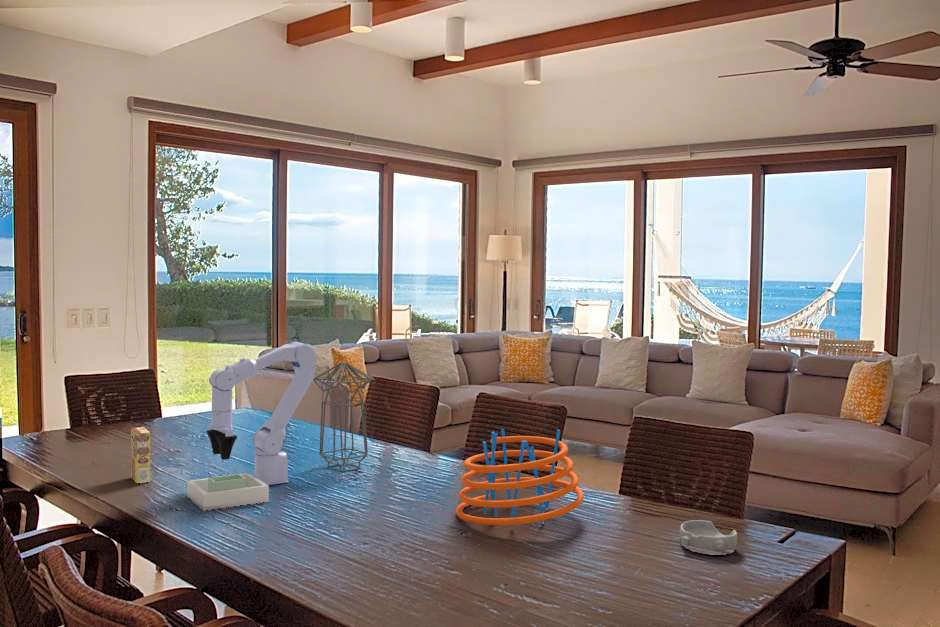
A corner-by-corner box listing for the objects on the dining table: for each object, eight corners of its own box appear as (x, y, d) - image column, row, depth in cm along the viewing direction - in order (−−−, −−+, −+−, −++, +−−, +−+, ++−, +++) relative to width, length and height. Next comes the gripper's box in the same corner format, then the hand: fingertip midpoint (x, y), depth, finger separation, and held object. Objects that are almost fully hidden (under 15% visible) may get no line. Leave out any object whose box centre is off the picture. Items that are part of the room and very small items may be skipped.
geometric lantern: (336, 476, 257) (335, 366, 256) (310, 467, 269) (310, 362, 268) (377, 468, 268) (377, 362, 266) (351, 460, 280) (350, 358, 278)
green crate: (239, 491, 234) (239, 473, 233) (246, 495, 229) (246, 478, 229) (207, 495, 228) (208, 477, 228) (214, 500, 224) (214, 482, 224)
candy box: (150, 482, 243) (151, 431, 243) (135, 484, 241) (136, 433, 240) (144, 476, 251) (144, 426, 250) (129, 477, 248) (130, 427, 248)
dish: (692, 535, 210) (693, 516, 210) (745, 548, 201) (746, 528, 201) (667, 549, 199) (668, 528, 198) (722, 563, 190) (723, 542, 190)
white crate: (248, 488, 241) (249, 473, 240) (268, 501, 227) (269, 485, 227) (186, 496, 230) (186, 480, 230) (203, 511, 217) (203, 494, 217)
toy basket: (500, 550, 197) (492, 452, 196) (434, 519, 227) (427, 434, 227) (611, 519, 214) (604, 429, 213) (536, 495, 244) (530, 416, 244)
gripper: (200, 407, 242) (200, 452, 243) (216, 415, 230) (215, 463, 231) (224, 406, 246) (223, 450, 247) (240, 413, 234) (239, 460, 235)
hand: (221, 456), depth 239 cm, fingers open, 7 cm apart
